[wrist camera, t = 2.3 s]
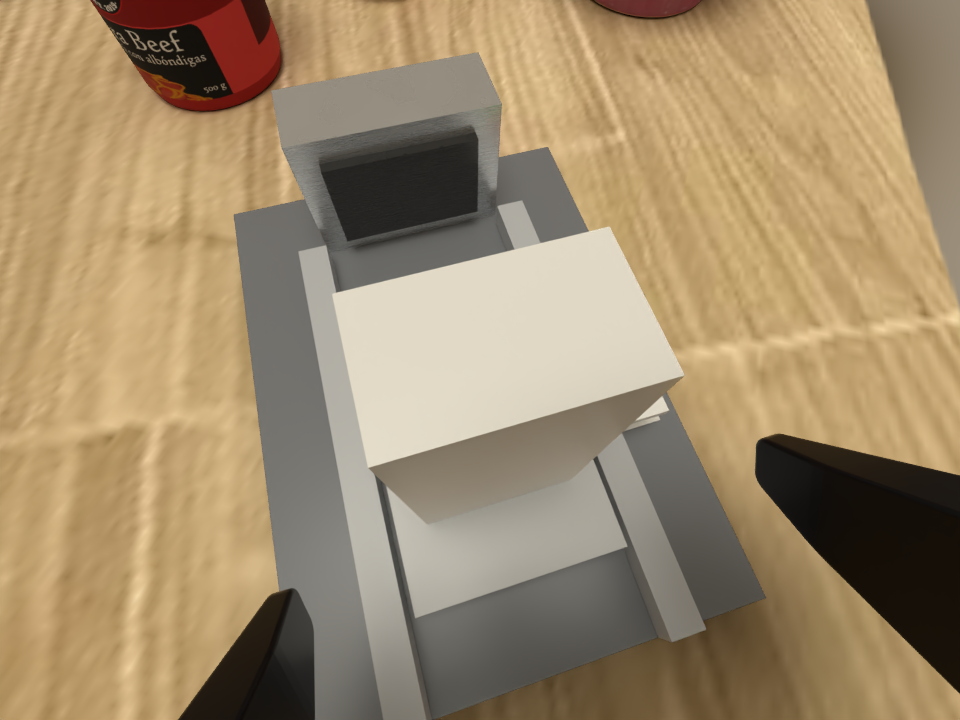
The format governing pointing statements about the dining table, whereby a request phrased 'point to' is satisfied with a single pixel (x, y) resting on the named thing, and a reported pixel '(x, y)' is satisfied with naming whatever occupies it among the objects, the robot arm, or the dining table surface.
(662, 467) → the track
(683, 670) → the dining table surface
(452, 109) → the grey block with recess
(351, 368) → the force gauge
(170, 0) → the canned food
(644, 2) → the plant pot
